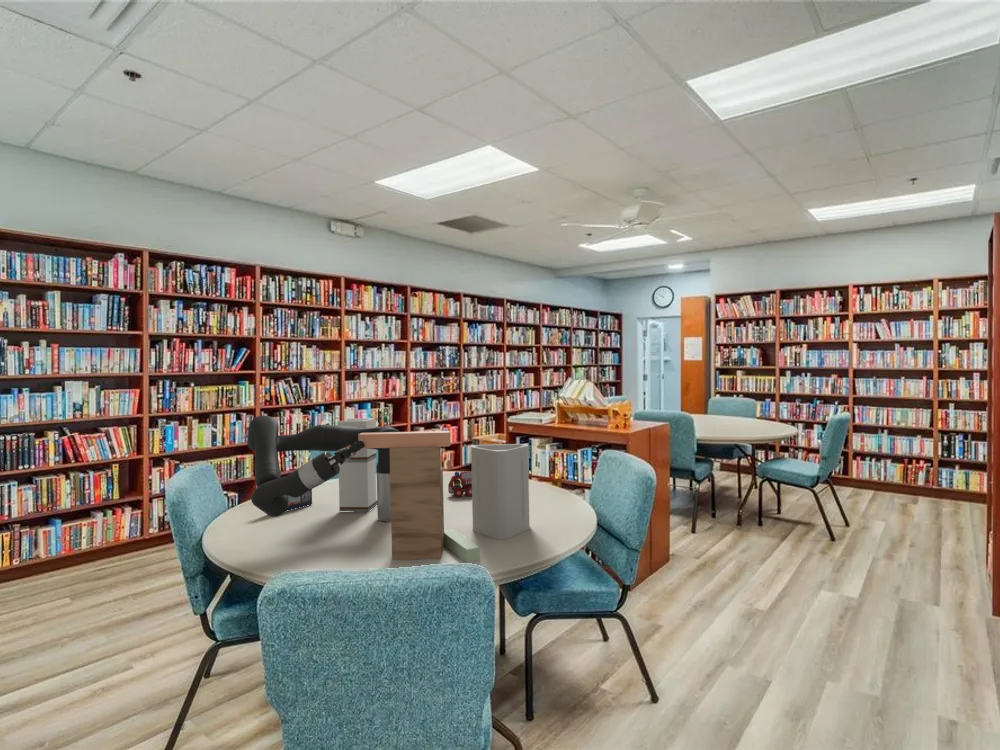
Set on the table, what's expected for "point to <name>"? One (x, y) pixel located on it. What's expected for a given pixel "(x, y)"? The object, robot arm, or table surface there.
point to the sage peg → (461, 546)
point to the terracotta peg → (405, 439)
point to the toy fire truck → (465, 482)
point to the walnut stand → (416, 503)
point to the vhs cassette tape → (300, 500)
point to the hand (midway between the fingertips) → (366, 440)
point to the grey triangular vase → (500, 489)
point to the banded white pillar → (358, 474)
